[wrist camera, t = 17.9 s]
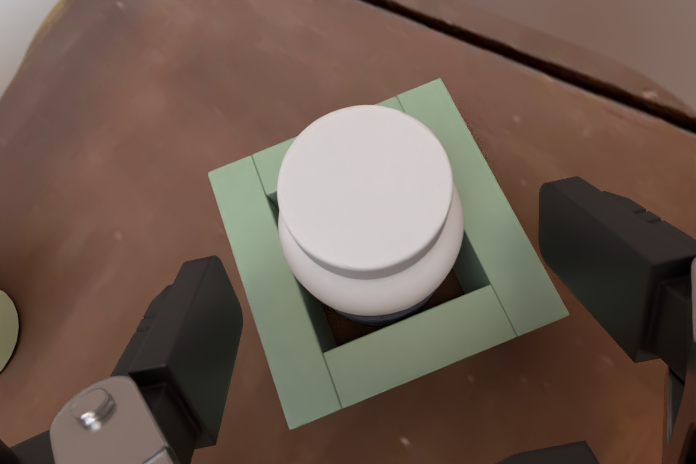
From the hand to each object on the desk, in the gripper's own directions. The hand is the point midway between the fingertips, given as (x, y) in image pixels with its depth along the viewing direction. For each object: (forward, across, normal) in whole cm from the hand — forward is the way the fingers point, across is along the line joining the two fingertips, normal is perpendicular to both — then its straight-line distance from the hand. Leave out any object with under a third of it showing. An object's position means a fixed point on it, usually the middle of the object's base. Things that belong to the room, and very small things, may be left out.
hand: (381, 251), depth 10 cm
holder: (+7, 0, +5) cm, 8 cm away
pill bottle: (+7, 0, +5) cm, 8 cm away
